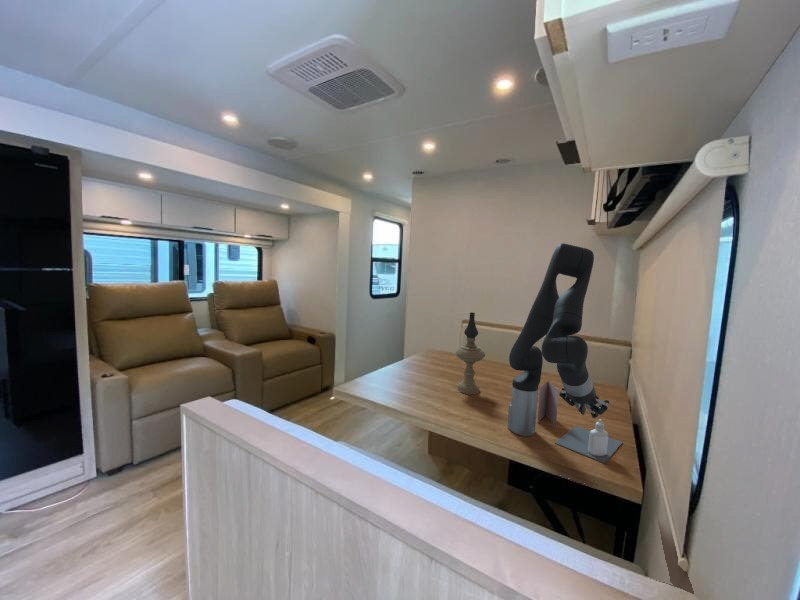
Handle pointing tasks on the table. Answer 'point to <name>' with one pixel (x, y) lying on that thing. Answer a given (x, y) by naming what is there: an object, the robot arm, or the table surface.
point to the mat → (586, 444)
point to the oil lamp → (470, 358)
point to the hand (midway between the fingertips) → (589, 413)
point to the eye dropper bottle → (598, 440)
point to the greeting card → (548, 402)
